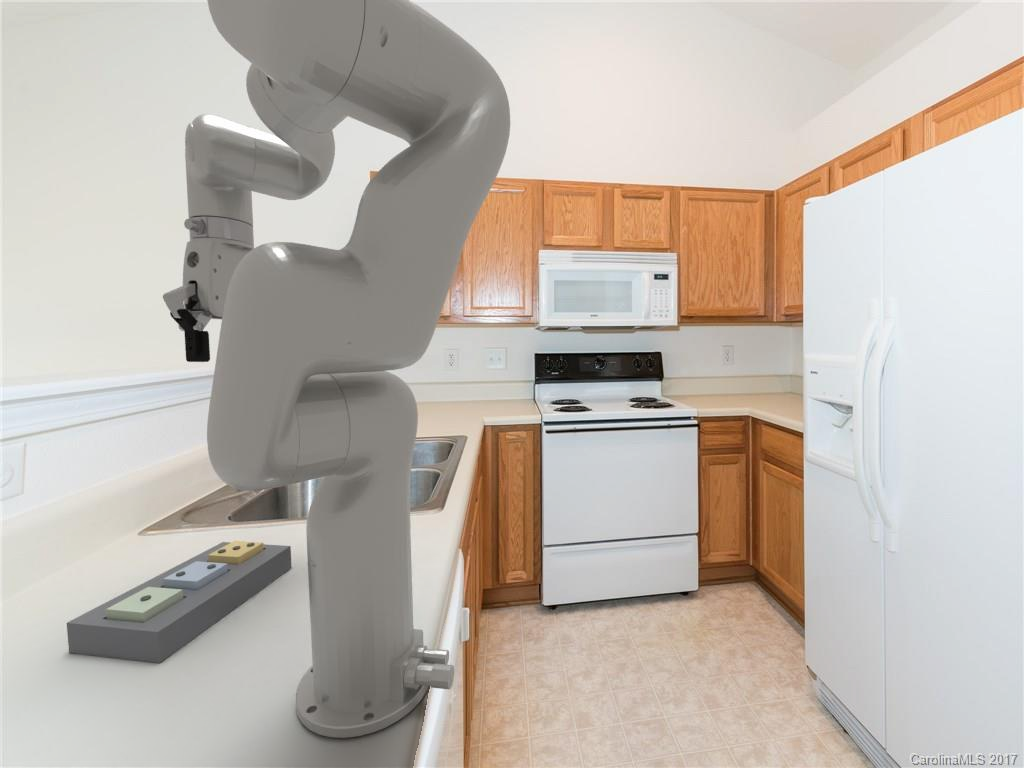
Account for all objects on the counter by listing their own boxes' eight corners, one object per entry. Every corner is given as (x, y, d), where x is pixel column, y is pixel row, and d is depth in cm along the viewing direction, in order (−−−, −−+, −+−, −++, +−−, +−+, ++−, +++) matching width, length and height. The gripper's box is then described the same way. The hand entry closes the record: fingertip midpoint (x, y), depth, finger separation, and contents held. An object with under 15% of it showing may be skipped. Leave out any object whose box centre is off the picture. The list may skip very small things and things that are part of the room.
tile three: (264, 555, 69) (263, 541, 69) (239, 570, 64) (238, 555, 64) (235, 553, 70) (234, 539, 70) (208, 568, 65) (207, 553, 65)
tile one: (183, 605, 55) (182, 588, 55) (144, 629, 51) (143, 611, 50) (149, 602, 56) (148, 585, 56) (107, 626, 51) (105, 607, 51)
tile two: (228, 577, 62) (227, 562, 62) (197, 596, 57) (196, 580, 57) (197, 575, 63) (196, 559, 63) (164, 593, 58) (162, 577, 58)
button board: (291, 567, 70) (290, 545, 70) (160, 663, 49) (157, 632, 48) (224, 563, 72) (222, 541, 72) (69, 652, 51) (66, 622, 50)
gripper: (187, 218, 53) (195, 362, 55) (289, 249, 70) (293, 359, 71) (137, 222, 55) (146, 362, 56) (248, 251, 72) (253, 359, 73)
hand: (228, 360), depth 64 cm, fingers open, 9 cm apart
